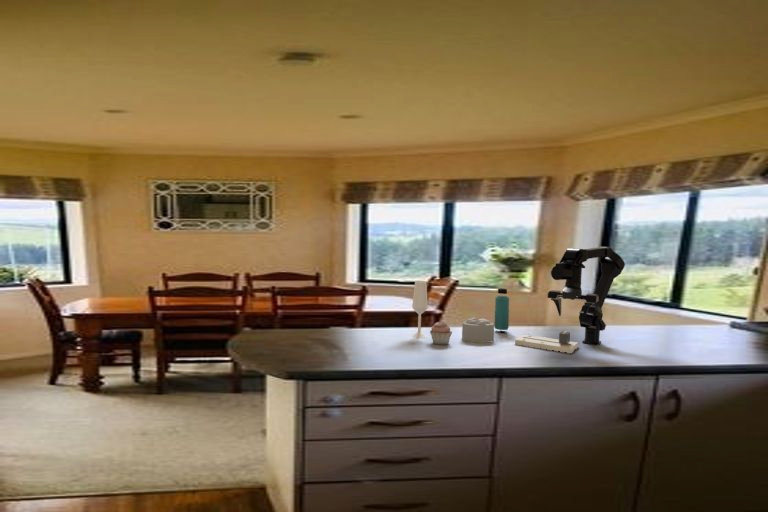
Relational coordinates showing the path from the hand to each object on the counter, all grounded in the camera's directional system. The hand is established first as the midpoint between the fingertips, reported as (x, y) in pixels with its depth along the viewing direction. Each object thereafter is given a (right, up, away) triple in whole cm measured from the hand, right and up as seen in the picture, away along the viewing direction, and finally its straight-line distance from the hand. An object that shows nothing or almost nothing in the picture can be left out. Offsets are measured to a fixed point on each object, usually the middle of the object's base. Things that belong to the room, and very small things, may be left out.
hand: (571, 317), depth 193 cm
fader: (-4, -10, -4) cm, 11 cm away
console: (-10, -12, 0) cm, 16 cm away
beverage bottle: (-23, -10, +25) cm, 35 cm away
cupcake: (-53, -11, +1) cm, 55 cm away
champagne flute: (-61, -10, +12) cm, 63 cm away
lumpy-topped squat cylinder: (-37, -11, +9) cm, 40 cm away
